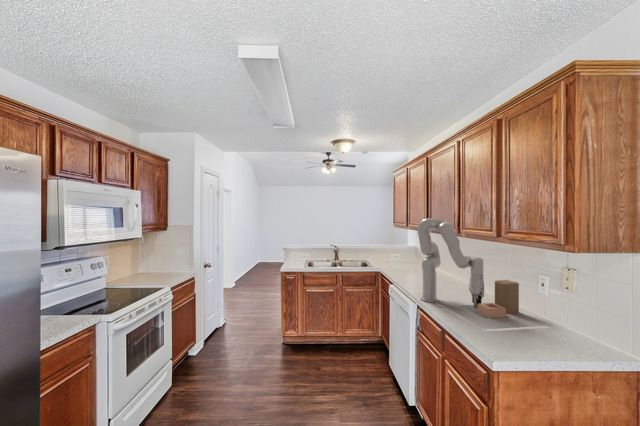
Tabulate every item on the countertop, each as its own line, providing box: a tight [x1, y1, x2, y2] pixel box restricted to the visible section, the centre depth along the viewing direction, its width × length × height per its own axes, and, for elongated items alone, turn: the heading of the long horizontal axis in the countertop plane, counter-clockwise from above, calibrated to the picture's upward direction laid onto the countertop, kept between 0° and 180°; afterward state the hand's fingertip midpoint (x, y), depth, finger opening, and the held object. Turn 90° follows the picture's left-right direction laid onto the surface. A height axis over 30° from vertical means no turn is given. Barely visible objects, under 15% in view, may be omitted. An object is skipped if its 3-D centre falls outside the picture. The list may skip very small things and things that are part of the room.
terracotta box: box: [478, 302, 507, 319], centre depth 190 cm, size 11×11×6 cm
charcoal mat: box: [459, 304, 510, 320], centre depth 197 cm, size 26×17×1 cm, turn 8°
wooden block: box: [494, 279, 520, 315], centre depth 197 cm, size 10×10×20 cm
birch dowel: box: [473, 294, 480, 308], centre depth 204 cm, size 4×4×10 cm
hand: (476, 303), depth 204 cm, fingers closed on birch dowel, 3 cm apart
